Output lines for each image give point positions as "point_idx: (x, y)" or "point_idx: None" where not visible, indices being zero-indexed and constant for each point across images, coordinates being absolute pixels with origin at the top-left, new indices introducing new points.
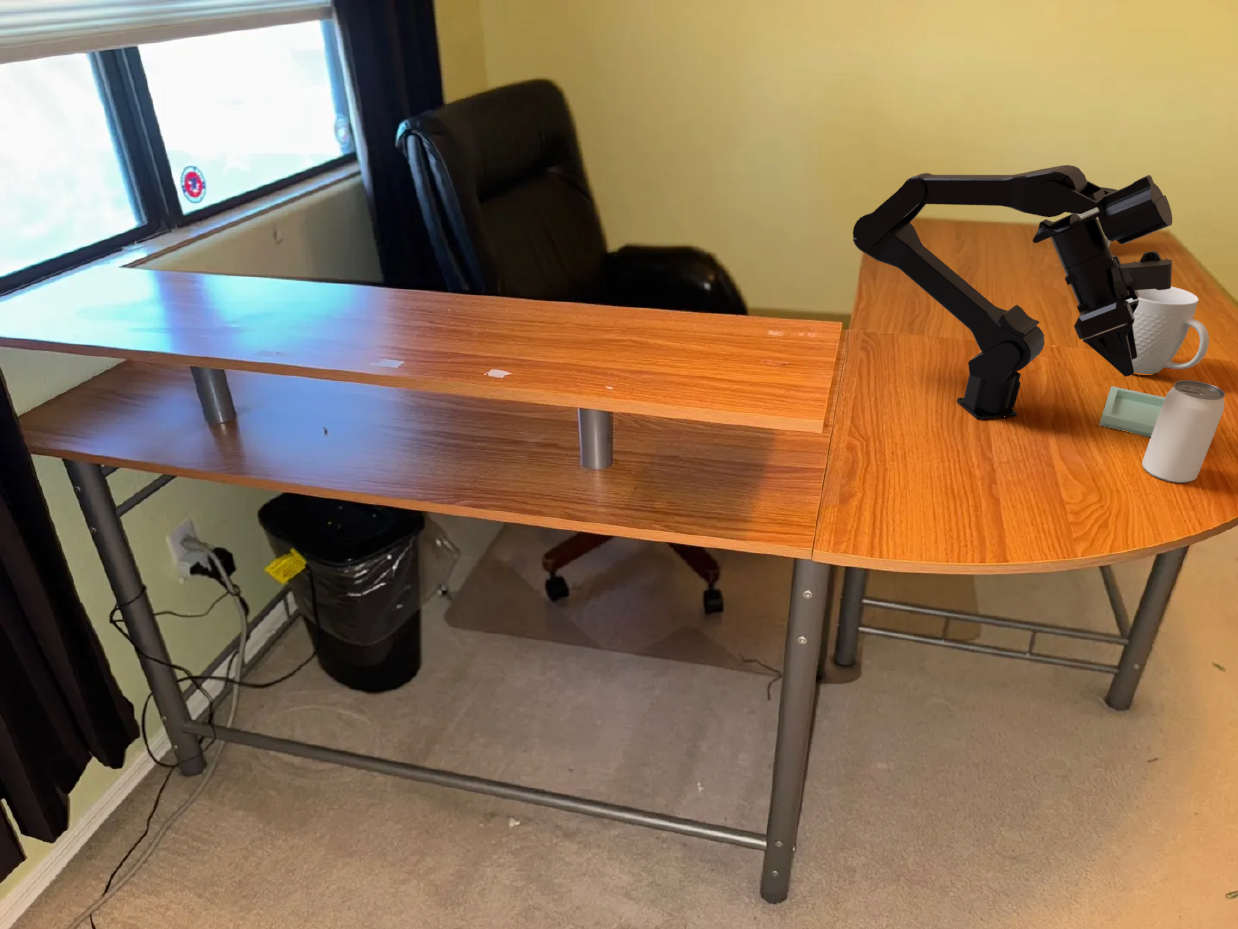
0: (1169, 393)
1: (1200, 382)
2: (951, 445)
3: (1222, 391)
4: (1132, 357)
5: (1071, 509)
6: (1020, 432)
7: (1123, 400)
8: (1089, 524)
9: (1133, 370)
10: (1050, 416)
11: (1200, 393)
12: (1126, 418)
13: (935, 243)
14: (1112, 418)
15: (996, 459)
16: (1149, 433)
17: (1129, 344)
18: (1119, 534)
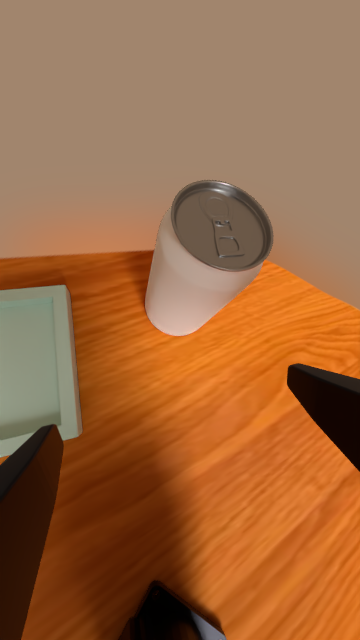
0: (241, 283)
1: (173, 222)
2: (338, 586)
3: (195, 184)
4: (59, 438)
5: (338, 366)
6: (210, 527)
7: None
8: (346, 342)
9: (306, 365)
10: (99, 526)
11: (231, 222)
12: (64, 394)
13: None
14: (76, 415)
15: (317, 498)
16: (74, 351)
17: (29, 492)
18: (337, 316)
